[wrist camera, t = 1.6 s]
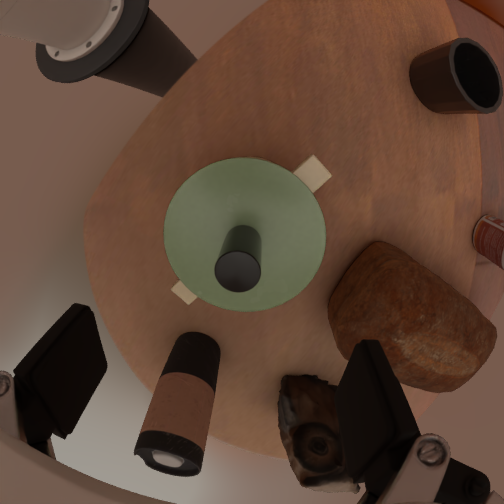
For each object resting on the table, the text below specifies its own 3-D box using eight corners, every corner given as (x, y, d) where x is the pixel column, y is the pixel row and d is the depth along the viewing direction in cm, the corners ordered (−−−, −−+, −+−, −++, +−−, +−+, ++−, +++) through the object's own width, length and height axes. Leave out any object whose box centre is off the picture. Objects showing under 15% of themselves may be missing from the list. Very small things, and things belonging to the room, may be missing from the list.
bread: (429, 360, 41) (455, 408, 30) (309, 307, 37) (323, 373, 26) (477, 302, 36) (514, 343, 25) (368, 220, 32) (415, 262, 21)
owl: (278, 370, 42) (282, 484, 23) (355, 366, 41) (385, 470, 23) (275, 413, 47) (276, 507, 28) (340, 409, 46) (357, 498, 28)
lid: (139, 235, 24) (104, 267, 18) (244, 122, 20) (236, 114, 14) (244, 328, 28) (239, 376, 22) (353, 240, 24) (380, 274, 18)
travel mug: (231, 344, 40) (213, 466, 22) (209, 373, 43) (187, 481, 24) (184, 322, 39) (140, 440, 20) (167, 353, 41) (127, 459, 23)
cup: (398, 57, 24) (436, 39, 16) (444, 50, 22) (484, 37, 14) (424, 119, 27) (468, 119, 18) (466, 107, 25) (510, 107, 17)
